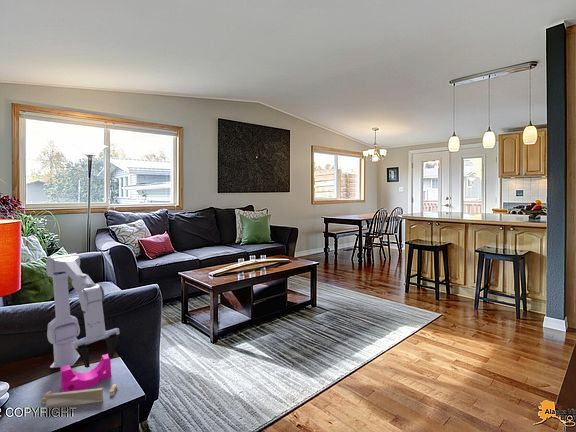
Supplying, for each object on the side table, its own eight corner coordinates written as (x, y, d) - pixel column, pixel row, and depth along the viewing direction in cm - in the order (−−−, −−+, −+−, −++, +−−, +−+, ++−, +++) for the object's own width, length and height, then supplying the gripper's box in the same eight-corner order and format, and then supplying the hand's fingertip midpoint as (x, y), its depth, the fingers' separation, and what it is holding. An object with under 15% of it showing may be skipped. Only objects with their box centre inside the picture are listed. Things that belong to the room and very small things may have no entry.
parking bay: (47, 395, 115) (47, 384, 115) (117, 387, 120) (116, 376, 119) (37, 409, 108) (36, 397, 108) (111, 400, 113) (110, 388, 112)
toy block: (64, 396, 115) (62, 374, 115) (61, 387, 120) (60, 367, 119) (113, 379, 125) (112, 360, 124) (108, 372, 130) (107, 353, 129)
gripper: (75, 330, 108) (80, 373, 108) (121, 316, 120) (126, 355, 119) (67, 328, 113) (72, 369, 113) (112, 315, 124) (117, 352, 124)
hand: (99, 362), depth 116 cm, fingers open, 7 cm apart
